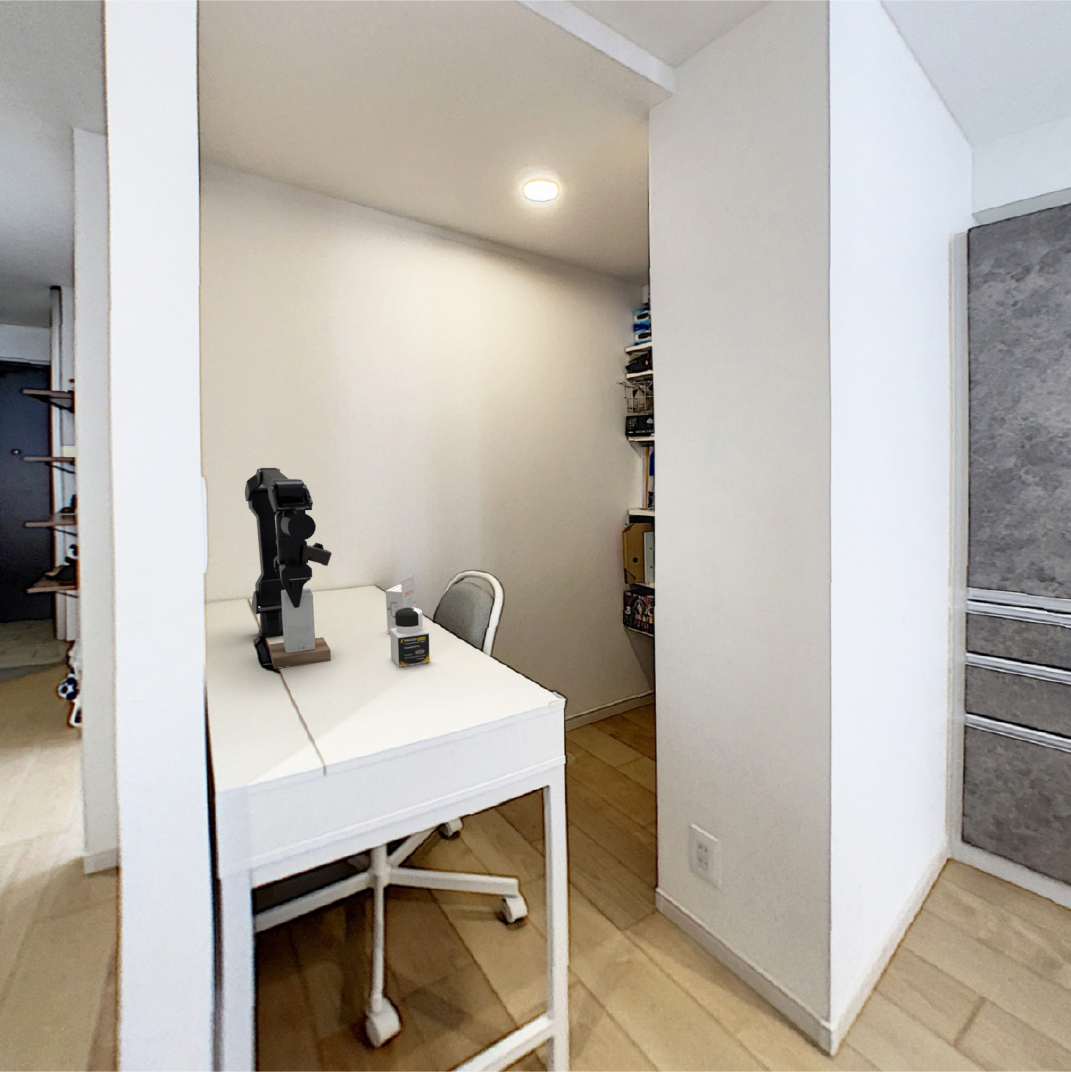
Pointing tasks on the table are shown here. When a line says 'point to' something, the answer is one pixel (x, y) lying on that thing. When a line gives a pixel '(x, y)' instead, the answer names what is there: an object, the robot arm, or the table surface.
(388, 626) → the ink cartridge box
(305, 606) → the small box
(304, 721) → the table surface
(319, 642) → the brown wooden slab
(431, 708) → the table surface
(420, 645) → the medicine bottle
